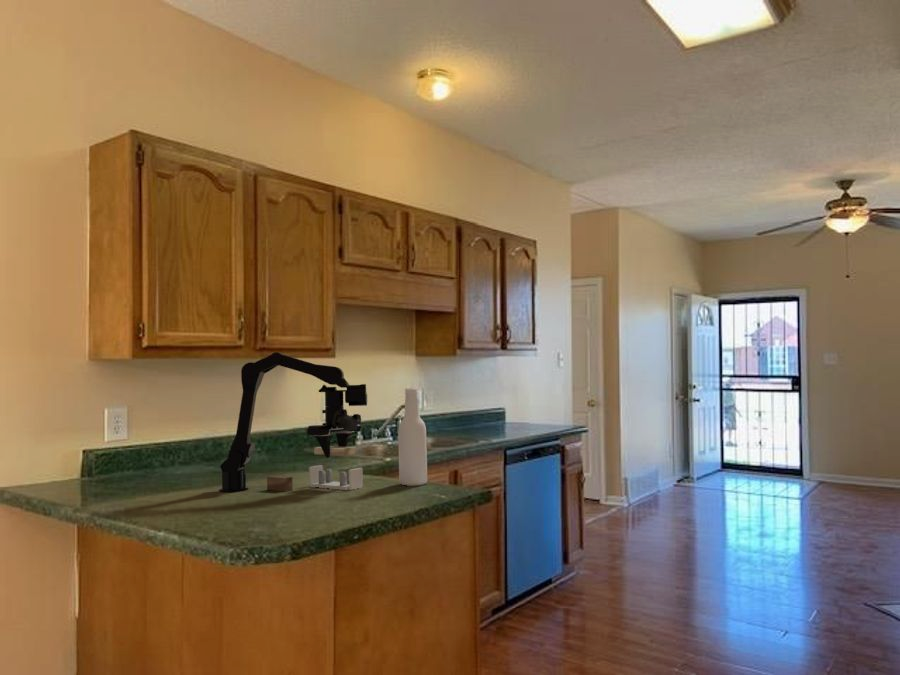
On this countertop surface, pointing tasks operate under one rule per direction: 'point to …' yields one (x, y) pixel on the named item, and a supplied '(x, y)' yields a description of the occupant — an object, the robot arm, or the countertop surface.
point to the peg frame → (318, 481)
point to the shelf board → (337, 450)
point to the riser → (279, 483)
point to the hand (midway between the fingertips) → (334, 456)
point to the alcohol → (412, 443)
